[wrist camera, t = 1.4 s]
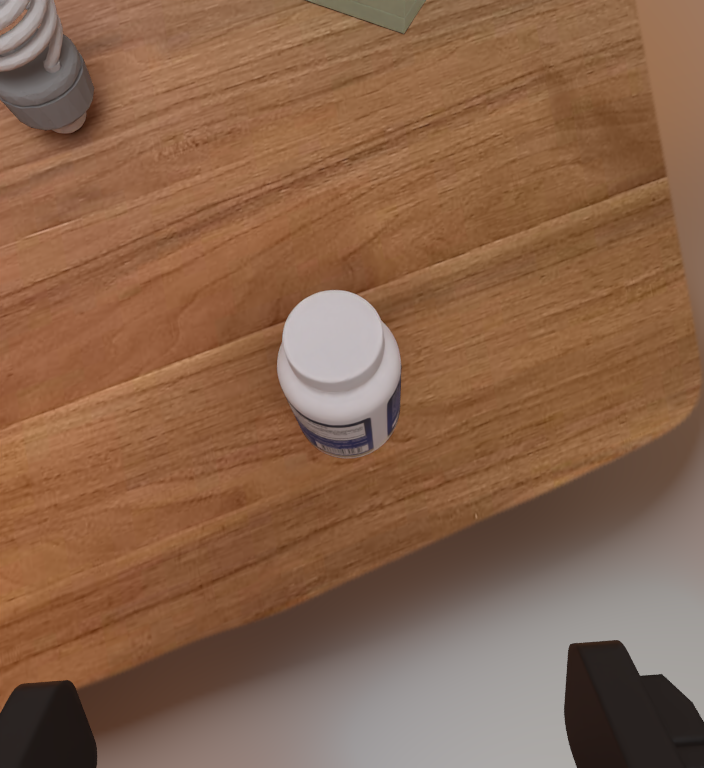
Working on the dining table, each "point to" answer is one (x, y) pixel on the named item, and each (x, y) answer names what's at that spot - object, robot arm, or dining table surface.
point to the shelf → (378, 11)
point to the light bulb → (42, 69)
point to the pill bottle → (340, 373)
